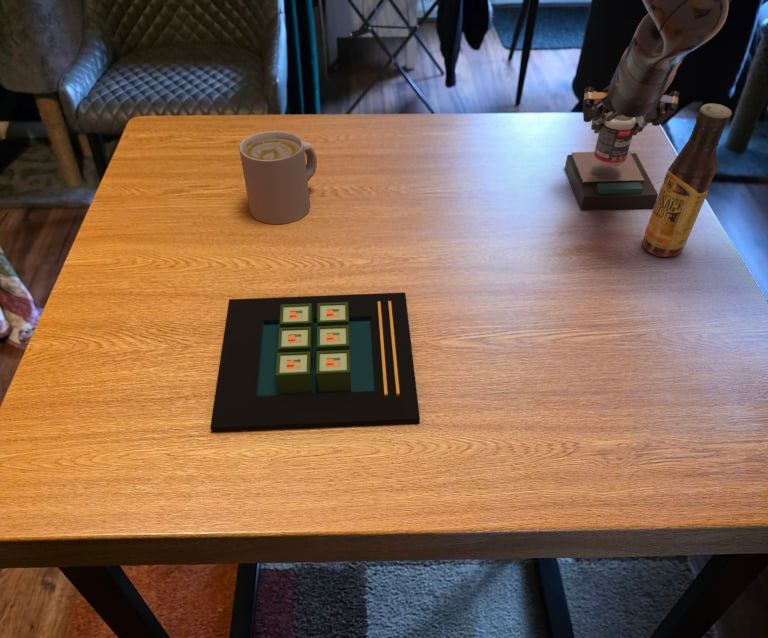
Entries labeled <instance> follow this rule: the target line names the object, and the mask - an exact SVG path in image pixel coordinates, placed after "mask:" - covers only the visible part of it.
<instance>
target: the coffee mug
mask: <svg viewBox="0 0 768 638" xmlns="http://www.w3.org/2000/svg"><path fill="white" fill-rule="evenodd" d="M238 150H239V156H240V161H241V166H242V173H243V178H244V185H245V189H246V194H247V195H246V196H247V201H248V206H249V212H250V214H251V216H252V217H253V218H254V219H255V220H257V221H259V222H261V223H265V224H270V225H286V224H290V223H294V222H297V221H299V220H301V219H303V218H304V217H305V216H306V215H308V214H309V212H310V210H311V200H310V199H311V198H310V190H309V181H310V180H311V179H312V177H313V176H314V175H315V173H316V172H317V171H316V170H317V166H318V165H317V163H318V157H317V152H316V149H315V147H314V146H313V144H311V143H310V142H308V141H303V139H302V138H301V137H300V136H299V135H297V134H295V133H293V132H290V131H285V130H267V131H265V130H264V131H261V132H257V133H254V134H253V133H252V134H251V135H249V136H247V137H245V138H244V139H243V140H242V141H241V142H240V144H239V146H238Z"/></svg>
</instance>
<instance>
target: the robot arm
mask: <svg viewBox="0 0 768 638" xmlns="http://www.w3.org/2000/svg"><path fill="white" fill-rule="evenodd" d="M641 1H642V2H643V5H644V7H645V9H646V11H647V14H646V15H645V16H644V17H643V18H642V19H641V21H640V23H638V26H637V28H636V30H635V32H634V34H633V36H632V39H631V41H630V43H629V45H628V47H626V49H625V50H624V52H623V54H622V56H621V58H620V60H619V63H618V65H617V67H616V69H615V72H614V74H613V75H612V78H611V80H610V82H609V85H608V86H607V87H605V88H604V89H603V90H602V91H596V90H594V87H593V86H587V87H585V88H584V93H583V94H584V96H583V103H582V116H583V122H585V123H590V122H591V125H590V126H591V127H590V130H591V131H593V134H599V131H600V129H601V127H602V125H603V122H605V121H608V122H610V121H611V120H613V119H614V118H616V117H617V116H621V115H623V116H626V117H635V120H636V125H635V129H634V132H633V136H637V134H638V133H641V132H643V130H644V128H647V126H648V124H651V125H652V126H653V127H657V126H660V125H661V124H663V123H664V122H665V121H666V120H667V119H669V118H670V117H671V116H672V115H673V114H675V112H677V108H678V102H679V95H680V91H678V90H673V91H670V93H668V94H665V93H666V91H667V90H668V88H669V87H670V85H671V84H672V83H673V80H674V79H675V76H676V74H677V71H678V69H679V67H680V66H681V64H682V63H683V61H684V59H685V57H687V56H688V55H689V54H690V53H692V52H693V51H695V50H697V49H699V48H700V47H701V46H703V45H705V44H706V43H707V42H709V41H710V40H712V39H713V38H714V37H715V36H716V35H717V34H718V33H719V32H720V30H721V29H722V28H723V26H724V25H725V23H726V20H727V17H728V13H729V7H730V5H729V0H641Z"/></svg>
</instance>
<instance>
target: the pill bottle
mask: <svg viewBox="0 0 768 638" xmlns="http://www.w3.org/2000/svg"><path fill="white" fill-rule="evenodd" d="M635 125H636V120H635V117H626V116H623V115H621V116H617V117H616V118H614V119H613V120H611V121H610V122H608V121H605V122H603V125H602V127H601V129H600V131H599V133H598V136H597V140H596V143H595V147H594V151H593V152H594V159H595V161H596V162H598V163H599V164H602V165H605V166H619V165H621V164H623V163H624V162H625V160H626V157H627V154H628V151H630V147H631V143H632V139H633V136H634V135H633V132H634V129H635Z"/></svg>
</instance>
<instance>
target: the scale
mask: <svg viewBox="0 0 768 638" xmlns="http://www.w3.org/2000/svg"><path fill="white" fill-rule="evenodd" d="M594 152H595V151H577V152H576V151H574V152H571V153H570V154H567V156H566V159H565V166H564V171H565V172H566V175H567V178H568V180H569V181H568V182H569V184H570V186H571V188H572V192H573V194H574V196H575V199H576V201H577V204H578V207H579V210H580V211H613V210H617V211H618V210H619V211H620V210H653V209H654V206H655V203H656V200H657V198H658V195H659V193H658V192H657V190H656V188H655V186H654V184H653V182H652V181H651V179H650V177H649V175H648V173H647V171H646V169H645V167H644V165H643V163H642V162H641V160H640V158H639V156H638V154H637V153H636V152H633V153H631V152H630V150H628V154H627V157H626V160H625V162H624V163H623V164H621V165H619V166H605V165H602V164H599V163H598V162H596V161H595V159H594Z"/></svg>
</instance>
